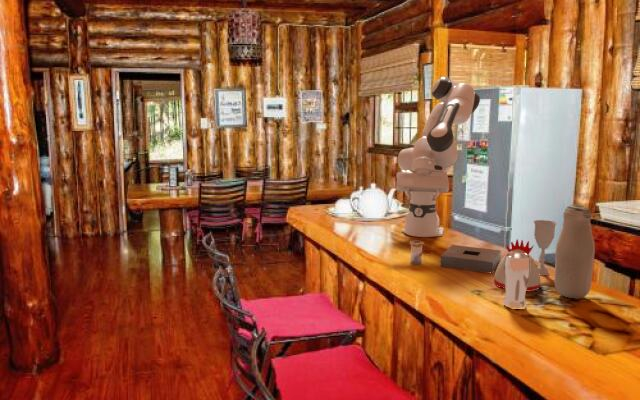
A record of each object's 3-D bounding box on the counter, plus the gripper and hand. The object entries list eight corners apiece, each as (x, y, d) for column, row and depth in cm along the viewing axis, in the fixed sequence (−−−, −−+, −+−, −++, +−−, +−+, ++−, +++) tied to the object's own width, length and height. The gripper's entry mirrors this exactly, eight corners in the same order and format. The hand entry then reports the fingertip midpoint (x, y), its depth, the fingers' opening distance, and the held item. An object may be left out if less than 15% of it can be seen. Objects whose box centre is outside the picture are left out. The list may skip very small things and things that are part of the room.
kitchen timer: (535, 295, 161) (538, 247, 159) (489, 287, 168) (491, 241, 166) (543, 283, 173) (546, 238, 170) (500, 276, 180) (502, 232, 178)
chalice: (552, 271, 185) (556, 221, 182) (553, 277, 178) (557, 224, 176) (529, 269, 187) (533, 219, 184) (530, 275, 181) (534, 223, 178)
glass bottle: (594, 297, 159) (602, 205, 155) (582, 305, 152) (591, 209, 147) (559, 289, 166) (567, 201, 162) (547, 297, 159) (554, 205, 154)
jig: (452, 254, 206) (452, 244, 206) (500, 260, 198) (501, 250, 198) (440, 266, 191) (440, 255, 190) (492, 273, 182) (493, 262, 182)
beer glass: (497, 302, 154) (500, 252, 152) (520, 301, 155) (524, 251, 152) (508, 311, 147) (511, 258, 145) (532, 310, 148) (535, 258, 146)
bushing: (411, 260, 198) (412, 239, 197) (424, 262, 196) (425, 241, 194) (407, 264, 194) (408, 242, 192) (420, 265, 191) (421, 244, 190)
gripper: (396, 165, 211) (394, 193, 203) (449, 167, 207) (449, 195, 199) (396, 175, 216) (394, 203, 208) (448, 177, 212) (448, 205, 204)
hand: (421, 199), depth 204 cm, fingers open, 8 cm apart
